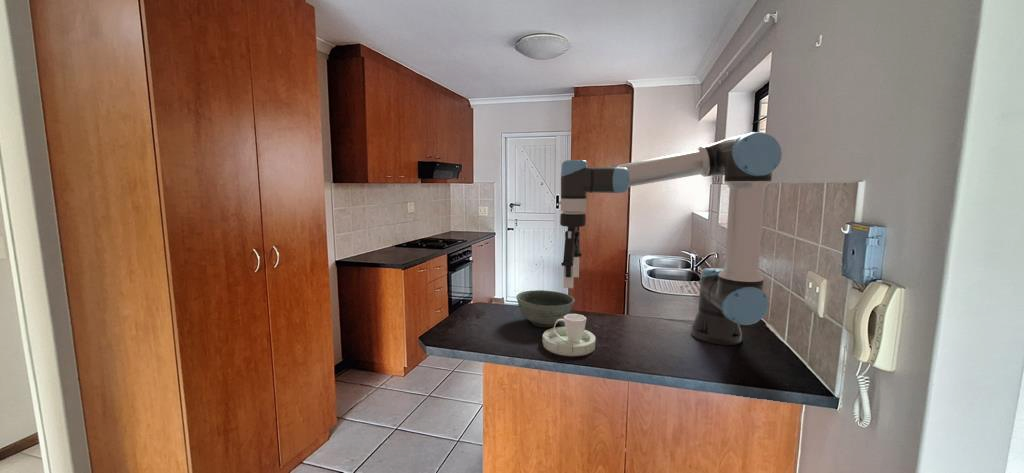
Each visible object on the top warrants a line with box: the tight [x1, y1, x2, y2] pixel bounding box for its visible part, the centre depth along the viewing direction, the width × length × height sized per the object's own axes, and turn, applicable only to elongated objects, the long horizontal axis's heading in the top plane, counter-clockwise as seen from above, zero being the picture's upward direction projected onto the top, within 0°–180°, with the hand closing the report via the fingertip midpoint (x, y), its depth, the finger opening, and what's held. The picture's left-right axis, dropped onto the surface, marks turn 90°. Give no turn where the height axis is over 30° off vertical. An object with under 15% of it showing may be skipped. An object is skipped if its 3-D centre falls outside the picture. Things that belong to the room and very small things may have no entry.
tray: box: [542, 326, 597, 357], centre depth 127 cm, size 16×16×3 cm
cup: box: [553, 313, 587, 345], centre depth 127 cm, size 7×10×8 cm
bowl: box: [515, 289, 576, 328], centre depth 146 cm, size 21×21×10 cm
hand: (571, 282), depth 125 cm, fingers open, 13 cm apart
